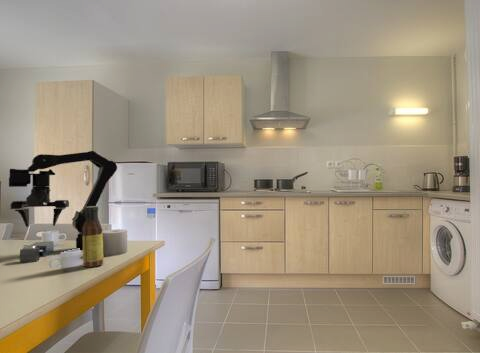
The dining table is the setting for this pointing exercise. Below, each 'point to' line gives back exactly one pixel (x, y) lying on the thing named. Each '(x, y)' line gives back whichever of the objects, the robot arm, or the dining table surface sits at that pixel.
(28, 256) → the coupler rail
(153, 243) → the dining table surface
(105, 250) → the toilet tissue
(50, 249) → the block
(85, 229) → the sauce bottle
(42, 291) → the dining table surface
